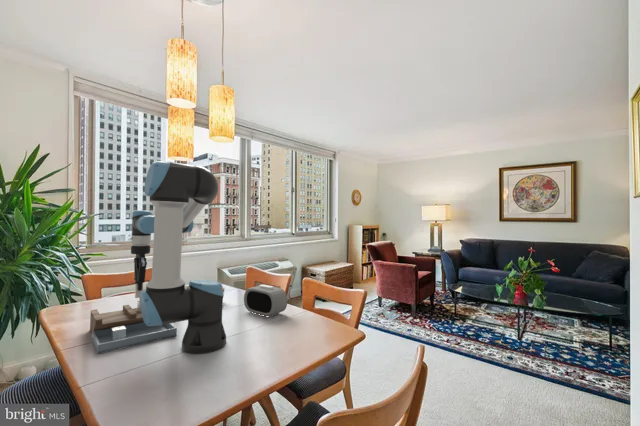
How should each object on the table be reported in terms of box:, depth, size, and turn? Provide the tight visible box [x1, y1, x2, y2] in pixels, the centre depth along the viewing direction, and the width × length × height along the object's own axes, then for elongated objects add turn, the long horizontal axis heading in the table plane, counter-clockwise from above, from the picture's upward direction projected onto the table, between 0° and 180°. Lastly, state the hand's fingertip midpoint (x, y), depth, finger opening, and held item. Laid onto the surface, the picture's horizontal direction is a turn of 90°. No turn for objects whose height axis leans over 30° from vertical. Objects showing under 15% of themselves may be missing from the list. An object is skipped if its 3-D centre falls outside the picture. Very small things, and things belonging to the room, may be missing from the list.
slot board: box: [89, 304, 144, 335], centre depth 124 cm, size 15×24×8 cm, turn 133°
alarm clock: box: [243, 284, 288, 317], centre depth 149 cm, size 21×10×13 cm, turn 56°
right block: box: [136, 300, 141, 313], centre depth 129 cm, size 4×4×4 cm
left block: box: [111, 326, 126, 341], centre depth 112 cm, size 4×4×4 cm
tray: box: [91, 322, 178, 354], centre depth 115 cm, size 16×25×3 cm, turn 133°
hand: (138, 297), depth 135 cm, fingers closed
